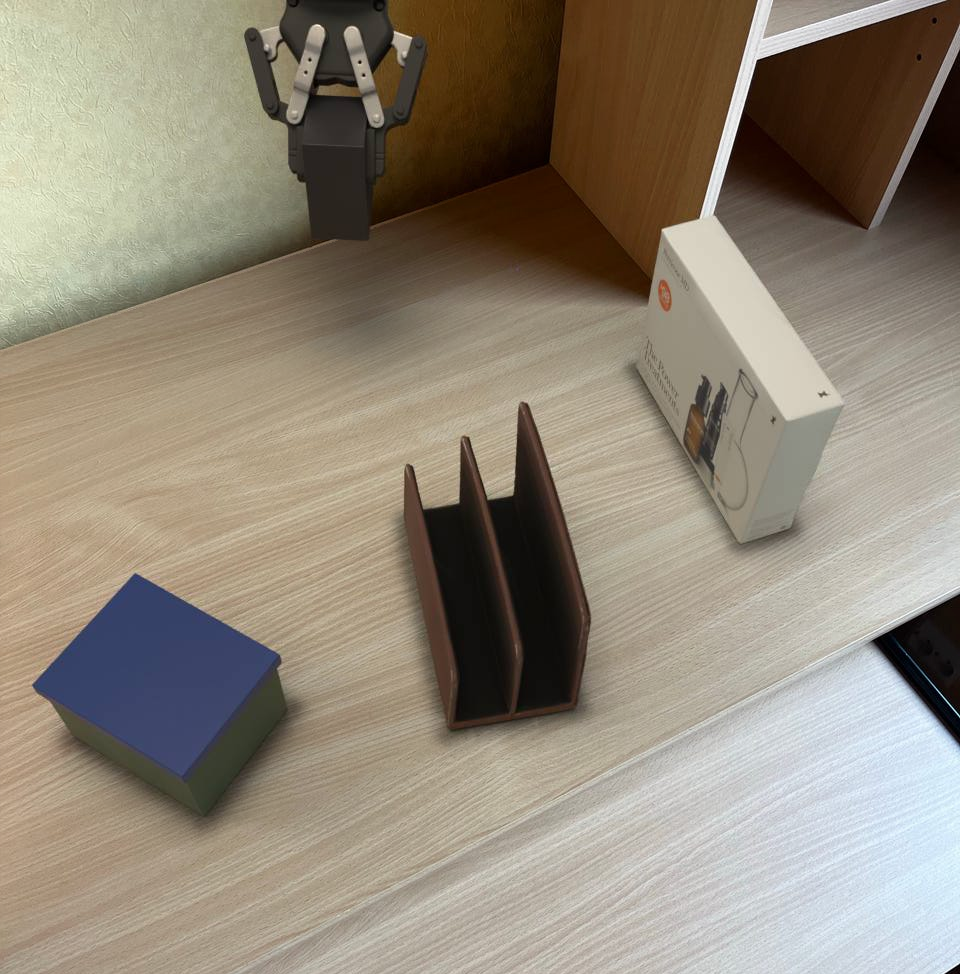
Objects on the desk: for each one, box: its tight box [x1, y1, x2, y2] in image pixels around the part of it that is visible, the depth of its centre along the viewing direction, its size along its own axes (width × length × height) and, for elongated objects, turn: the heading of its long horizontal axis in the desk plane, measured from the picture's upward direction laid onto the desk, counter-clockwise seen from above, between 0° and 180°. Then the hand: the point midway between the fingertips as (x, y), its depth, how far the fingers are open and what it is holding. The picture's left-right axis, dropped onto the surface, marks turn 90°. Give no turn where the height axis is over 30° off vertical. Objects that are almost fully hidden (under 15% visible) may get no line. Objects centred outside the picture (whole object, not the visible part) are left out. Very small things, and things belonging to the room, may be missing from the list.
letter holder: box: [402, 401, 592, 731], centre depth 80 cm, size 10×20×14 cm, turn 12°
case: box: [301, 94, 374, 242], centre depth 86 cm, size 5×6×8 cm
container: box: [31, 572, 288, 817], centre depth 77 cm, size 13×11×8 cm
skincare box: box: [635, 214, 846, 545], centre depth 89 cm, size 21×5×16 cm, turn 21°
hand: (336, 181), depth 84 cm, fingers closed on case, 4 cm apart
